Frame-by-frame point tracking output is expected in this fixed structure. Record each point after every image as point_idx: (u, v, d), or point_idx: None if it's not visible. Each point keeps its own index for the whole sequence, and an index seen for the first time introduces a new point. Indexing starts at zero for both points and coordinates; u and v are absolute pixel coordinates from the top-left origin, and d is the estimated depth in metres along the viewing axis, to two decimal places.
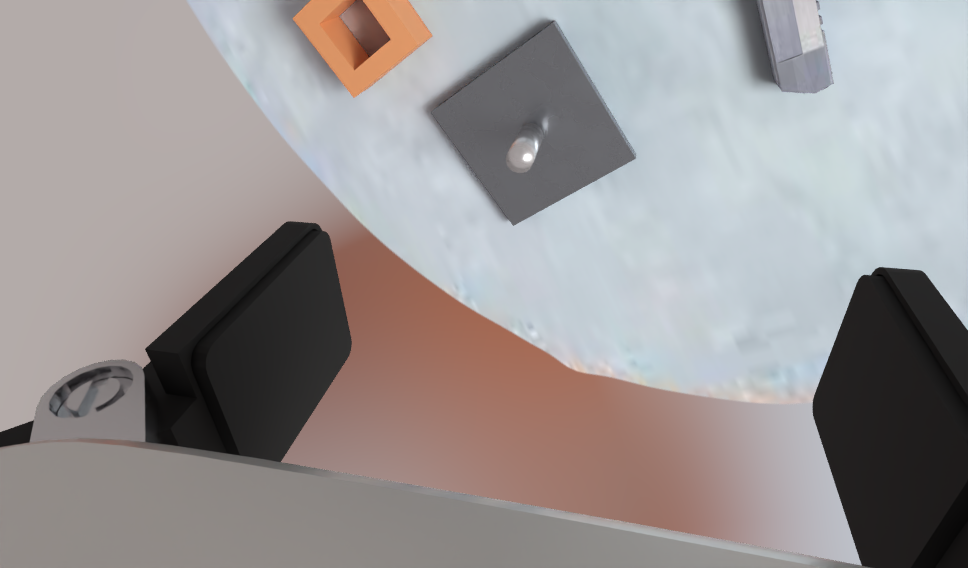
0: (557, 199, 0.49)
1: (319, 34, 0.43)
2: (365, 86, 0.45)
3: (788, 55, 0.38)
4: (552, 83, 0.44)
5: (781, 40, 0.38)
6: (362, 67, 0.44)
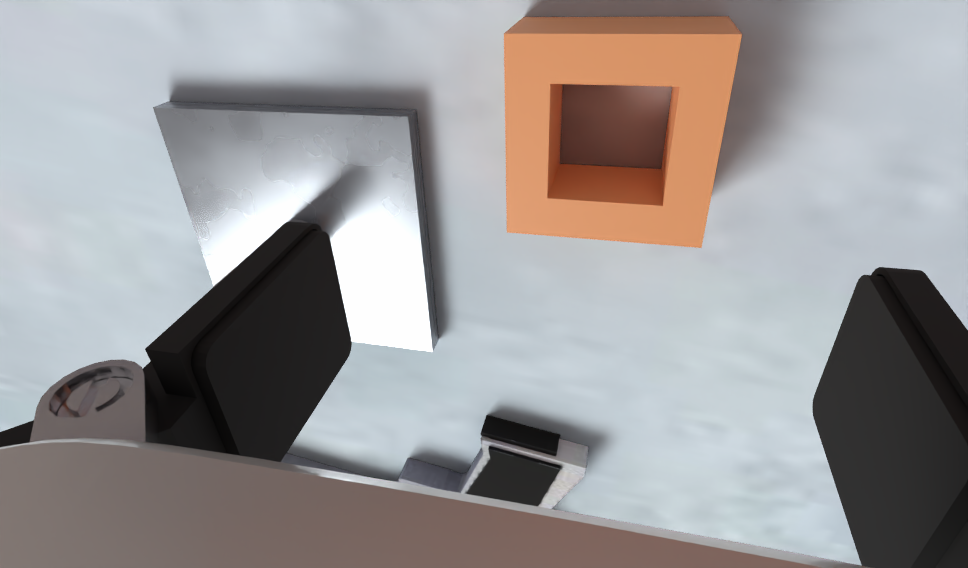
0: (189, 206, 0.28)
1: (663, 69, 0.18)
2: (507, 81, 0.19)
3: None
4: (361, 306, 0.29)
5: None
6: (543, 106, 0.19)
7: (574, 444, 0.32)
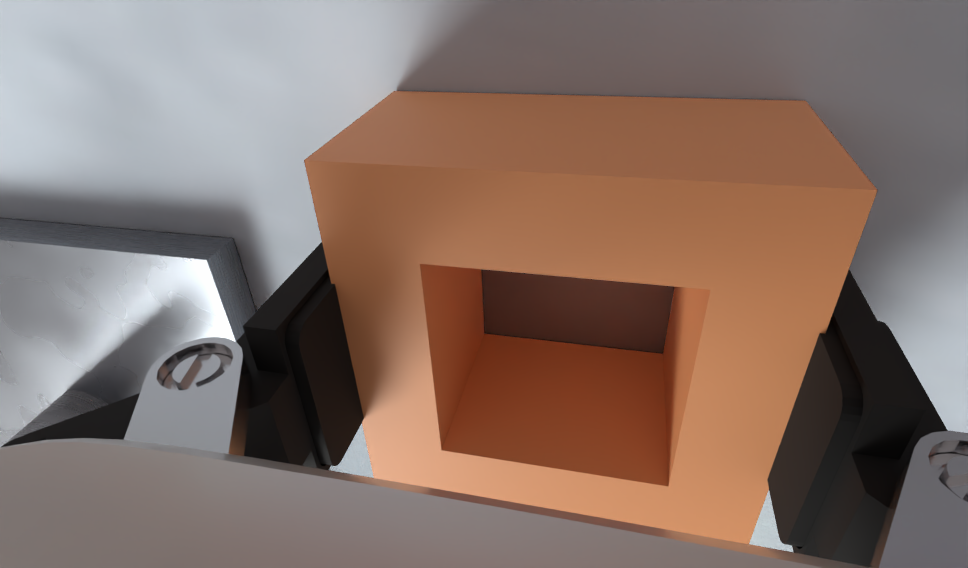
0: None
1: (673, 253, 0.07)
2: (330, 252, 0.09)
3: None
4: None
5: None
6: (411, 302, 0.09)
7: None
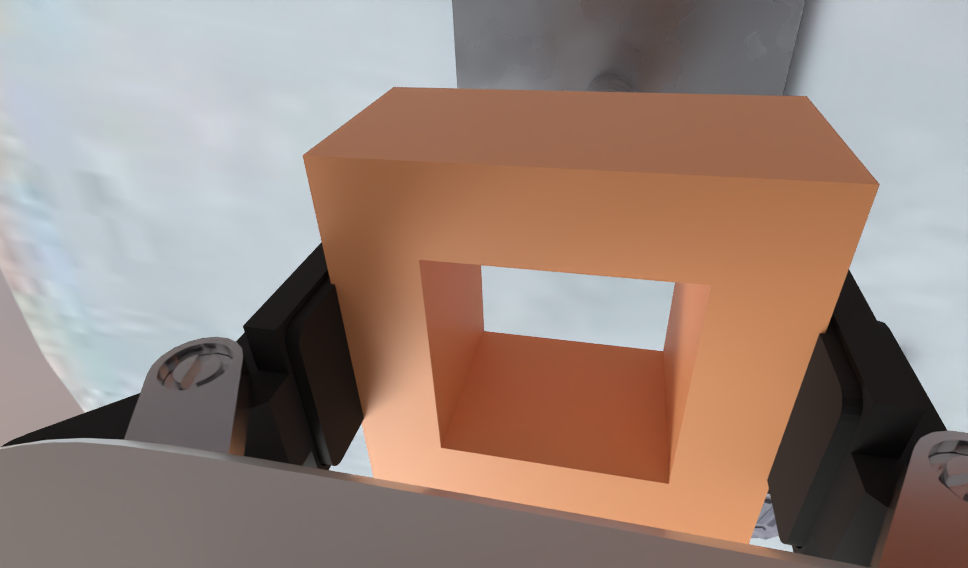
0: (459, 65, 0.22)
1: (673, 249, 0.07)
2: (329, 248, 0.09)
3: None
4: None
5: None
6: (410, 299, 0.09)
7: None
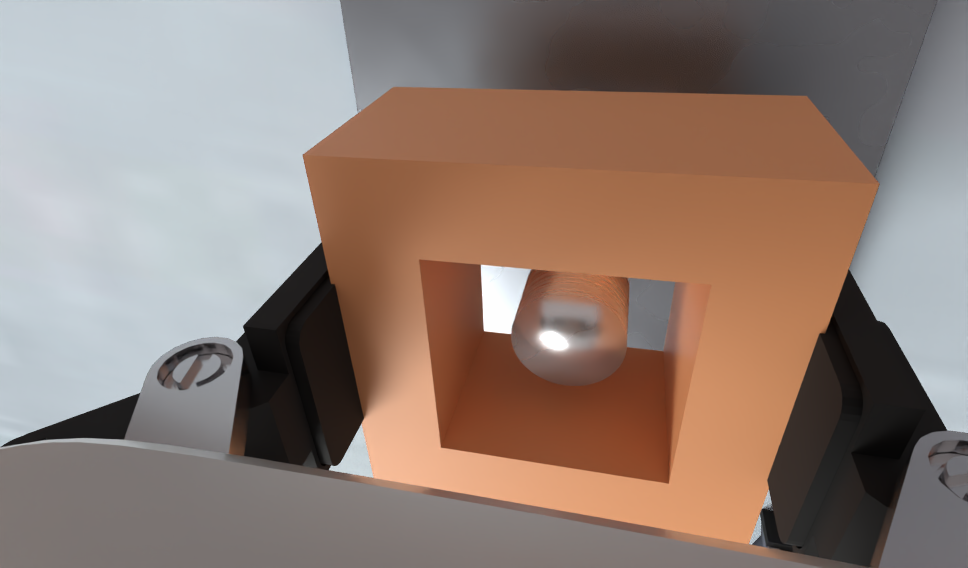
0: None
1: (673, 248, 0.07)
2: (329, 248, 0.09)
3: None
4: None
5: None
6: (410, 298, 0.09)
7: None
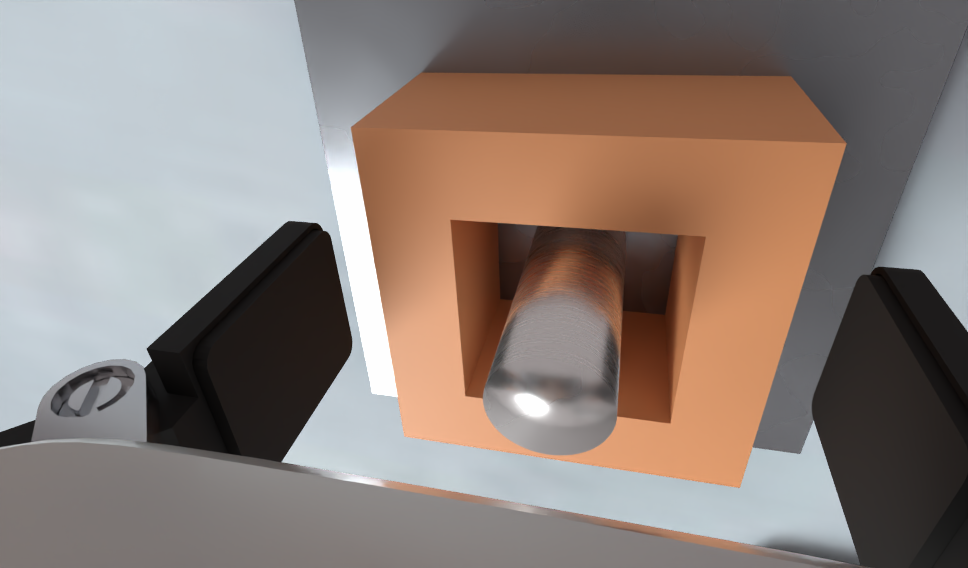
0: (333, 169, 0.14)
1: (673, 204, 0.08)
2: (371, 211, 0.10)
3: None
4: None
5: None
6: (441, 256, 0.10)
7: None
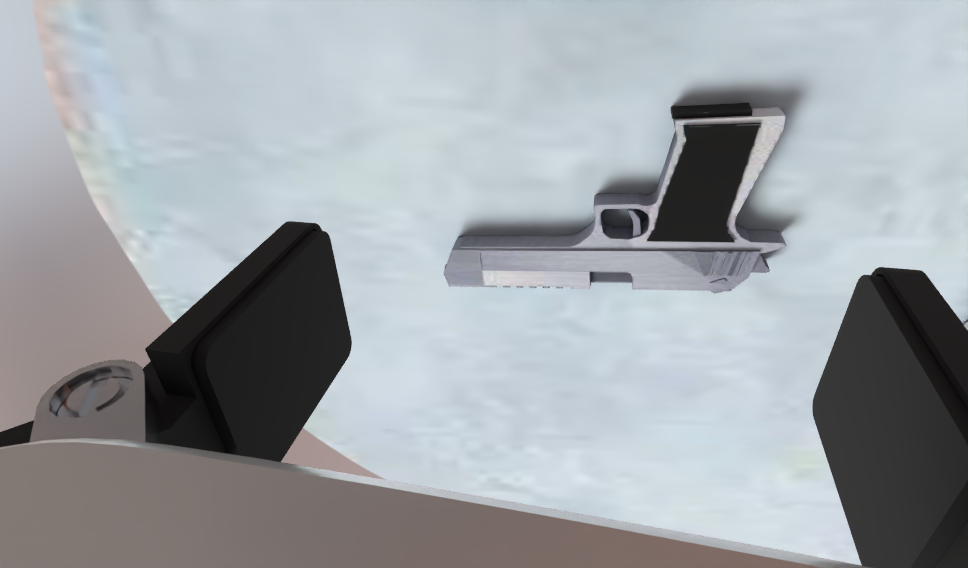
0: None
1: None
2: None
3: (484, 260, 0.40)
4: None
5: (499, 257, 0.40)
6: None
7: (765, 108, 0.33)
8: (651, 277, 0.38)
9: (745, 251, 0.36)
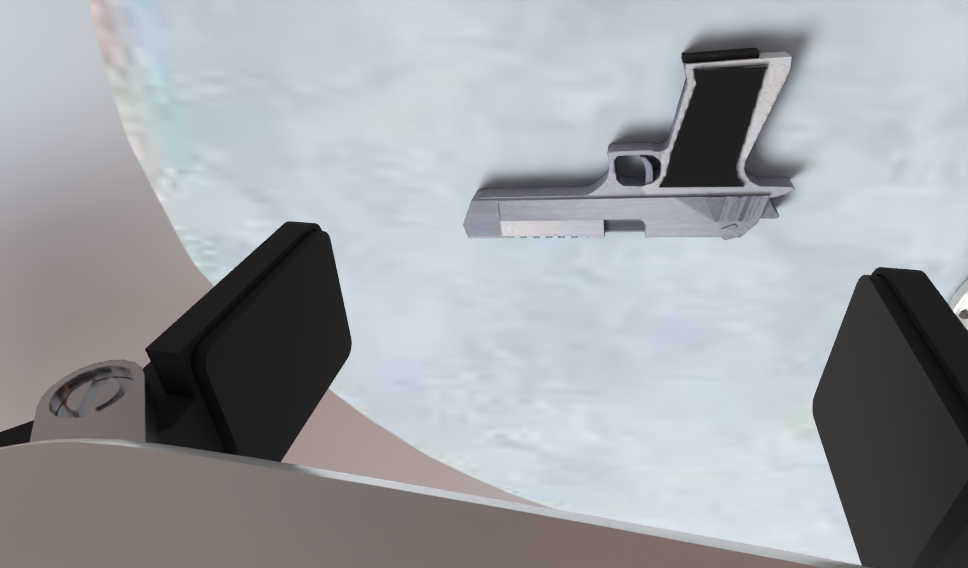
0: None
1: None
2: None
3: (502, 210, 0.42)
4: None
5: (517, 207, 0.42)
6: None
7: (772, 52, 0.34)
8: (663, 224, 0.40)
9: (754, 195, 0.37)
